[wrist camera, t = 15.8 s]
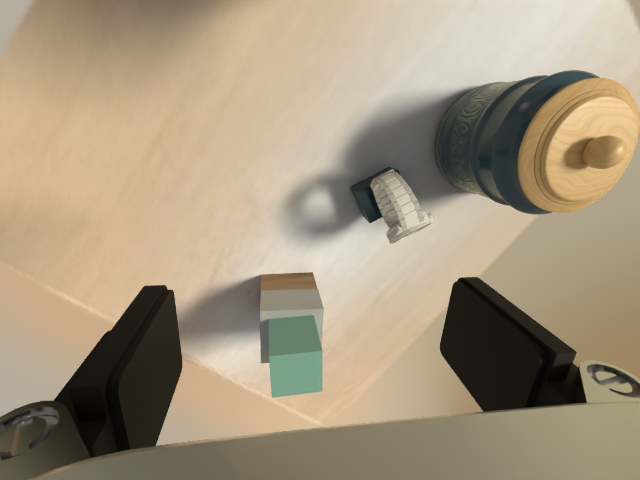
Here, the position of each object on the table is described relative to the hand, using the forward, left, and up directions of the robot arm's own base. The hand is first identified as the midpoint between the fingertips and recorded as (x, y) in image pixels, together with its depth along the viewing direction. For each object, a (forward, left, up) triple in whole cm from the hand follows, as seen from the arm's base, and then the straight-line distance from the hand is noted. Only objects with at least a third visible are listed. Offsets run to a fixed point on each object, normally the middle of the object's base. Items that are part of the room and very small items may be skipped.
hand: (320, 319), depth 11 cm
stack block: (+17, +1, -21) cm, 27 cm away
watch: (+2, +12, -31) cm, 33 cm away
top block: (+17, +1, -26) cm, 31 cm away
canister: (-5, +25, -31) cm, 40 cm away
